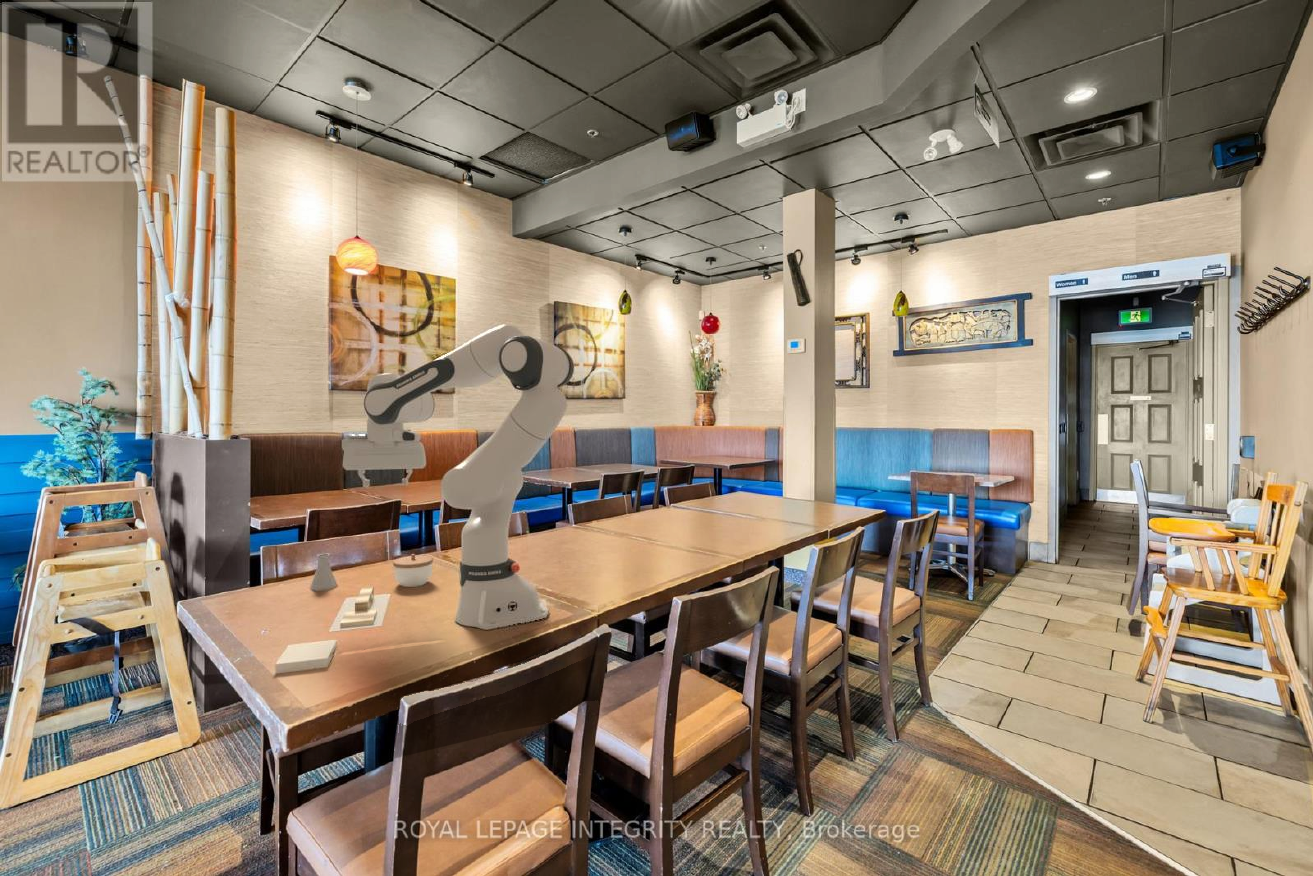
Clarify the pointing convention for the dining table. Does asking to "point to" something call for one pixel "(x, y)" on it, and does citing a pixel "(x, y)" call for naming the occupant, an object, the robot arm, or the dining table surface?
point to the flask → (323, 575)
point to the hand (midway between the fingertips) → (385, 486)
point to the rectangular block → (306, 656)
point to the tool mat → (377, 603)
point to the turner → (361, 610)
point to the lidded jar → (413, 570)
